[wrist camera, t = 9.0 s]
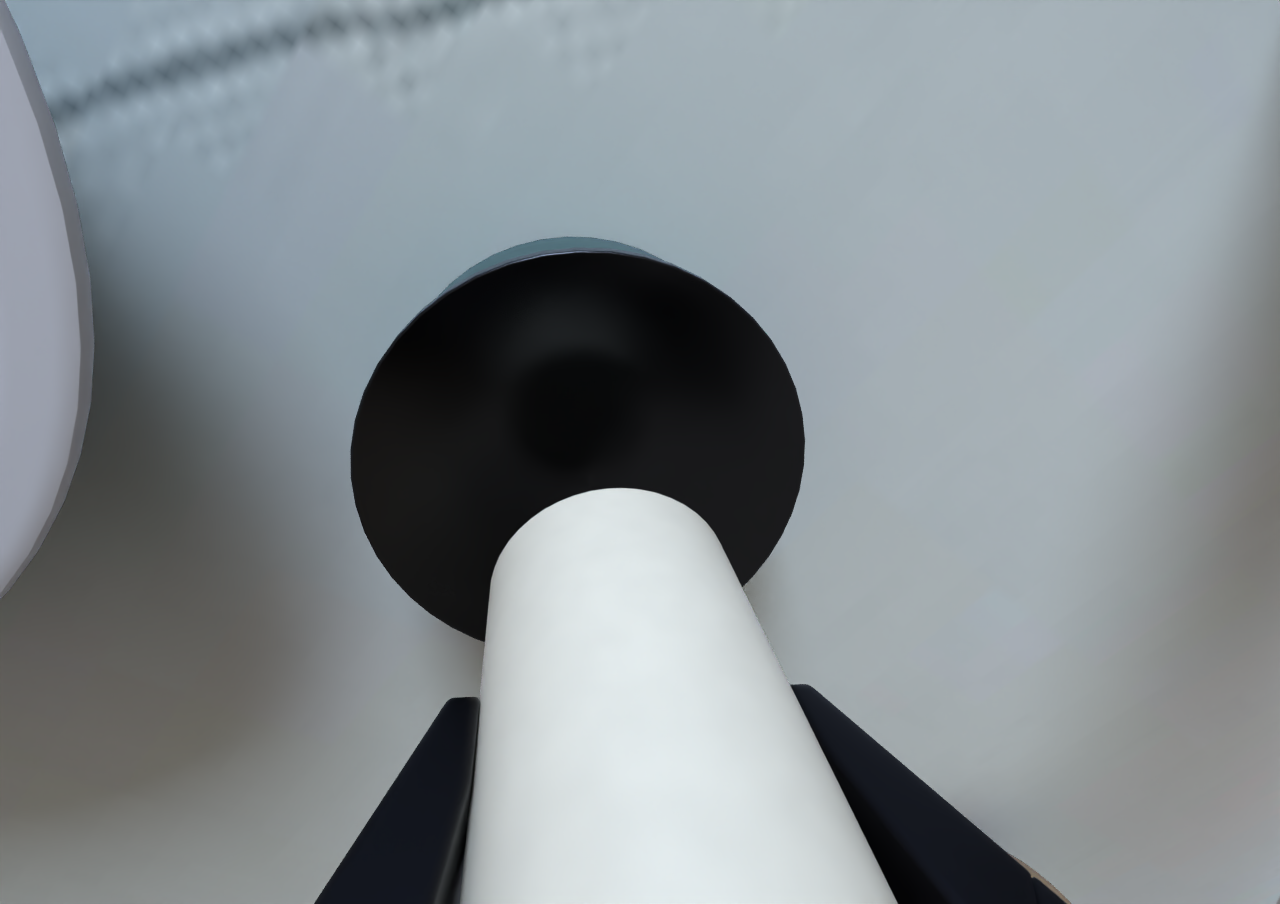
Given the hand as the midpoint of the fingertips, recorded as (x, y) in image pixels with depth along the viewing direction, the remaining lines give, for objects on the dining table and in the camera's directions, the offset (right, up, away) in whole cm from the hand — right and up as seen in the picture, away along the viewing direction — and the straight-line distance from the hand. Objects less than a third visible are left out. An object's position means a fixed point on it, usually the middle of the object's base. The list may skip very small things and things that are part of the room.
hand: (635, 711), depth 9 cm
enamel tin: (-2, +5, +11) cm, 12 cm away
